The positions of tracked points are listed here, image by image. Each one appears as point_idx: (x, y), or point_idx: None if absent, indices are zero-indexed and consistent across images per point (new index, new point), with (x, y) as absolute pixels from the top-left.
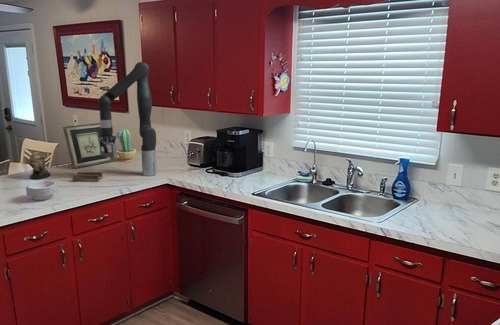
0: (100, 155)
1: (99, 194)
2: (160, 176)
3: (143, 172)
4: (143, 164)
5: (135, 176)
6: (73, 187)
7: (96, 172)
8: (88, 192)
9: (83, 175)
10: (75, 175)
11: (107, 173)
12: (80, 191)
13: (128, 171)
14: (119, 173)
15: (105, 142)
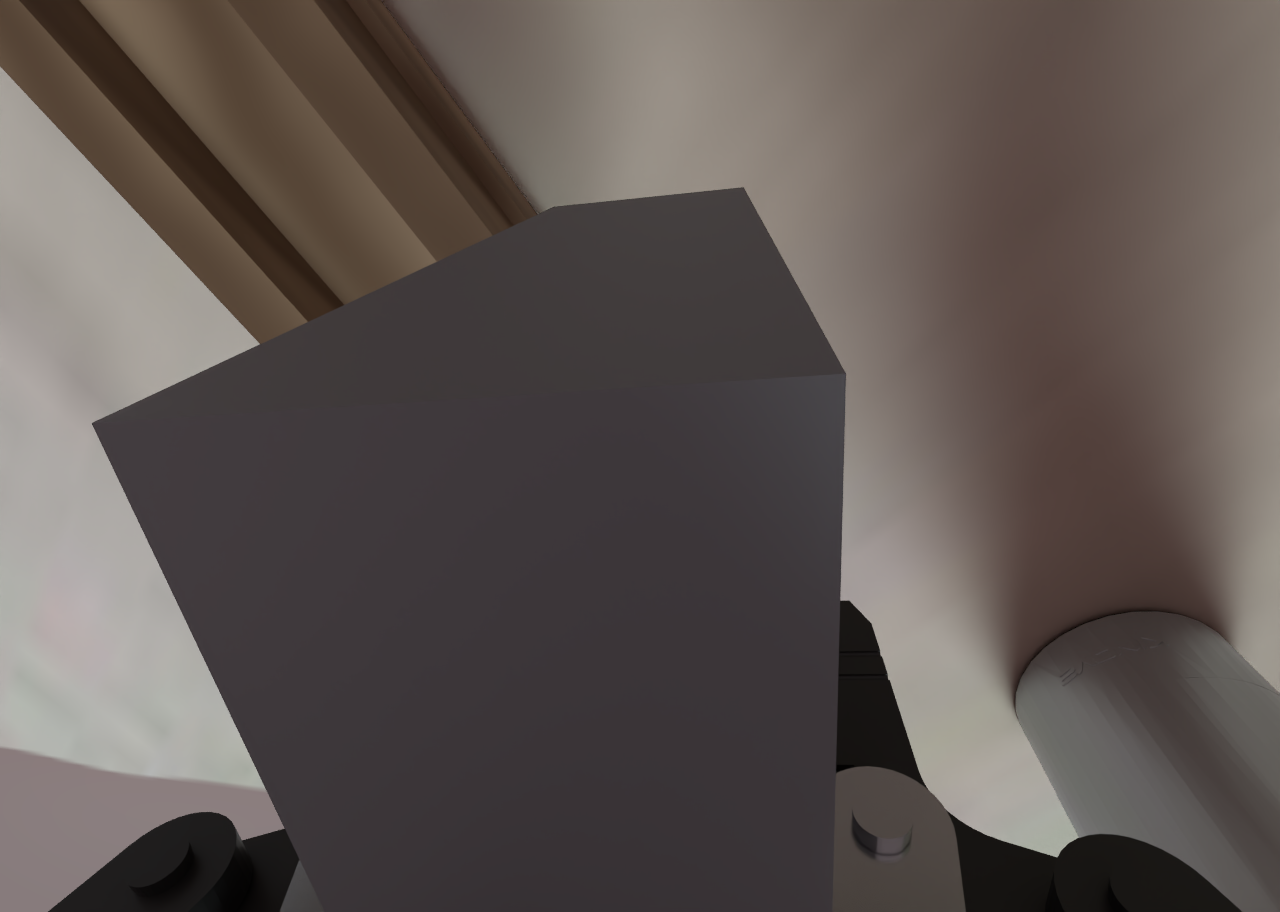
0: (550, 211)
1: (180, 775)
2: (1071, 834)
3: (1044, 702)
4: (1108, 832)
5: (923, 615)
6: (12, 374)
7: (452, 237)
8: (112, 662)
9: (158, 231)
10: (23, 89)
11: (862, 52)
12: (48, 576)
13: (1196, 288)
14: (976, 269)
15: (730, 890)
